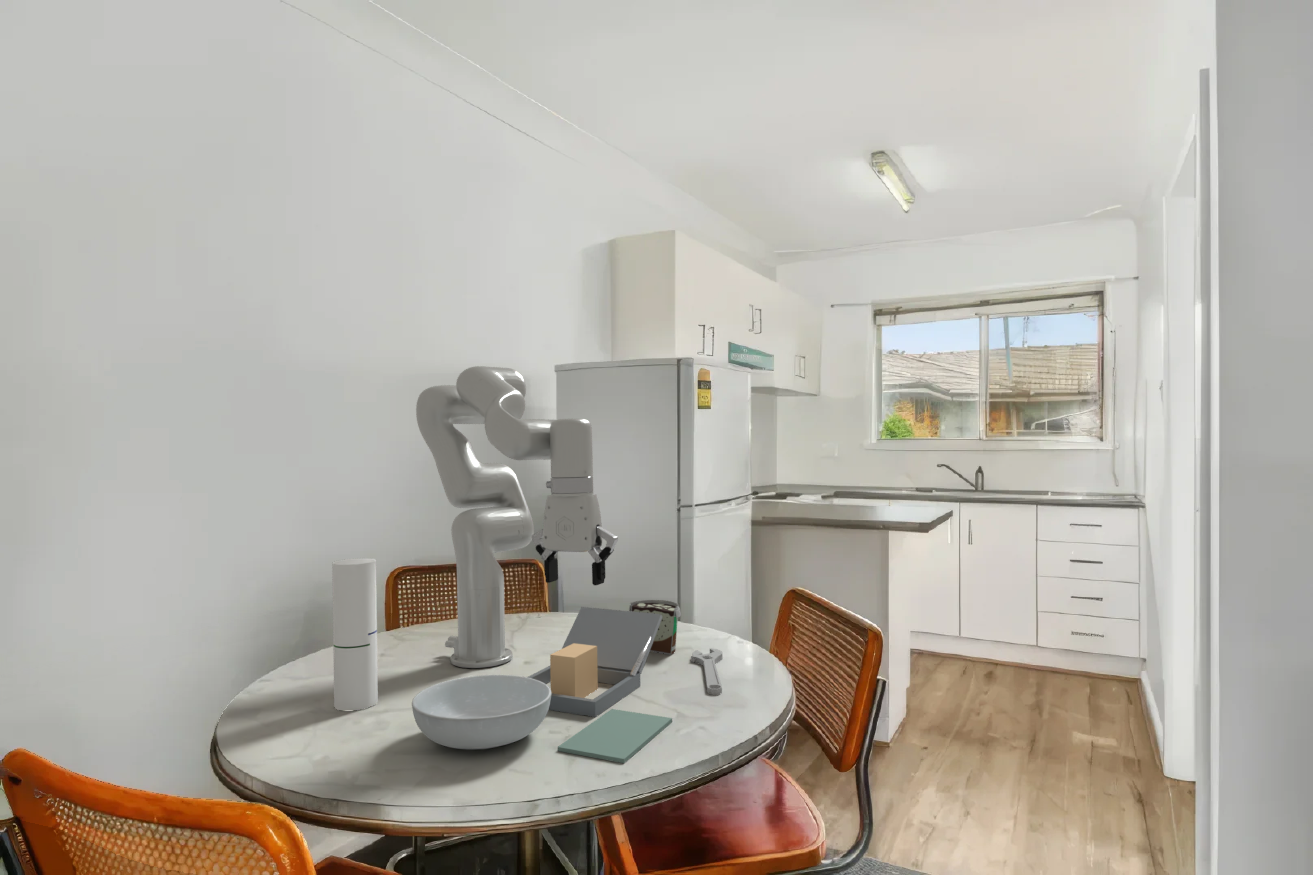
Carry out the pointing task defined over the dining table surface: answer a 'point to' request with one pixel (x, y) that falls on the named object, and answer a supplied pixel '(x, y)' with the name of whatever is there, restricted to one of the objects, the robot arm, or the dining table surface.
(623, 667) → the equipment case
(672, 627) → the food container
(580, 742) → the rubber mat
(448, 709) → the serving bowl
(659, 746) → the dining table surface
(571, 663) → the block
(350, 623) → the cylindrical container
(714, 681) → the adjustable wrench
